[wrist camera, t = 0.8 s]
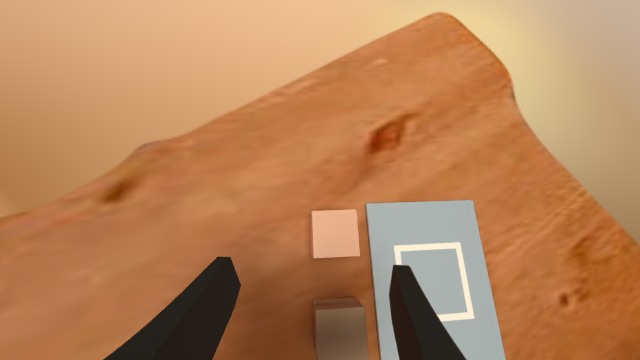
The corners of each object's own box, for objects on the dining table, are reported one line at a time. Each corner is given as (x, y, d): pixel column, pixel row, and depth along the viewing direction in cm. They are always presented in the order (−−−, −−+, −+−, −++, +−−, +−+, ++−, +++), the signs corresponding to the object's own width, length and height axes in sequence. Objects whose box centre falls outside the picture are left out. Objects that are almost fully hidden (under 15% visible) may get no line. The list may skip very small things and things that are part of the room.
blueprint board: (502, 365, 23) (508, 368, 22) (381, 378, 22) (383, 382, 21) (469, 200, 27) (472, 199, 26) (365, 204, 26) (366, 203, 25)
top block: (350, 253, 24) (360, 255, 21) (311, 255, 24) (313, 258, 20) (347, 214, 25) (356, 209, 22) (309, 215, 25) (311, 210, 21)
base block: (357, 342, 22) (369, 363, 19) (314, 346, 22) (318, 368, 18) (353, 296, 23) (364, 306, 20) (312, 299, 23) (315, 310, 19)
